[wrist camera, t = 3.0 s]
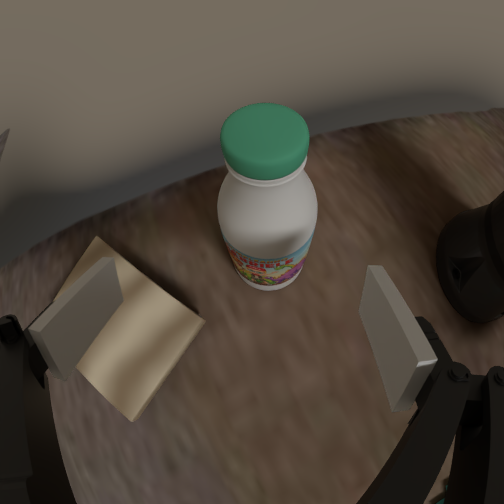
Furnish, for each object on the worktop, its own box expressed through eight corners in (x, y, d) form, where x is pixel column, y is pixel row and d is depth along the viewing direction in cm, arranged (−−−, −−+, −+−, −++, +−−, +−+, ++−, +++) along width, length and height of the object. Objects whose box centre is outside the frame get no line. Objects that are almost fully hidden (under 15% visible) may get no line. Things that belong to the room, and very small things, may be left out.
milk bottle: (235, 226, 34) (199, 87, 15) (302, 226, 33) (329, 85, 15) (232, 291, 31) (176, 193, 12) (304, 292, 31) (352, 193, 12)
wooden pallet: (212, 324, 30) (202, 319, 26) (149, 414, 27) (131, 421, 22) (114, 249, 34) (96, 235, 30) (62, 328, 31) (40, 323, 26)
